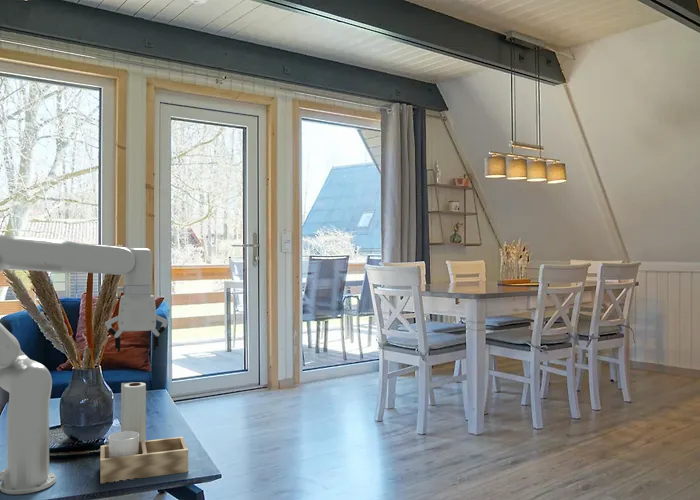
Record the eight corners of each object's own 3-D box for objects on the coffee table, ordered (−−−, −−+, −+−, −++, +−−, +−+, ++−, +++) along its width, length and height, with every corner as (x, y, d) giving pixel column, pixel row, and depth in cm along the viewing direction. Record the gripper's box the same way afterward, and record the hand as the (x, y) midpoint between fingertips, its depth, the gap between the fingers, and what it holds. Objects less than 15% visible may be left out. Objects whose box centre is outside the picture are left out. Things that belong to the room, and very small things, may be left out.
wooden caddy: (100, 483, 155) (100, 460, 155) (100, 467, 167) (100, 445, 167) (188, 471, 164) (188, 449, 164) (182, 457, 175) (182, 436, 175)
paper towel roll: (148, 459, 173) (148, 384, 173) (125, 463, 170) (126, 387, 170) (142, 451, 179) (142, 379, 179) (121, 455, 176) (121, 382, 176)
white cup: (129, 464, 169) (129, 429, 169) (144, 471, 164) (145, 434, 164) (102, 473, 163) (102, 436, 163) (117, 480, 158) (117, 442, 158)
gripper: (105, 292, 167) (104, 354, 167) (169, 291, 174) (169, 351, 174) (105, 290, 175) (104, 349, 175) (168, 289, 181) (167, 347, 181)
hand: (136, 350), depth 174 cm, fingers open, 9 cm apart
